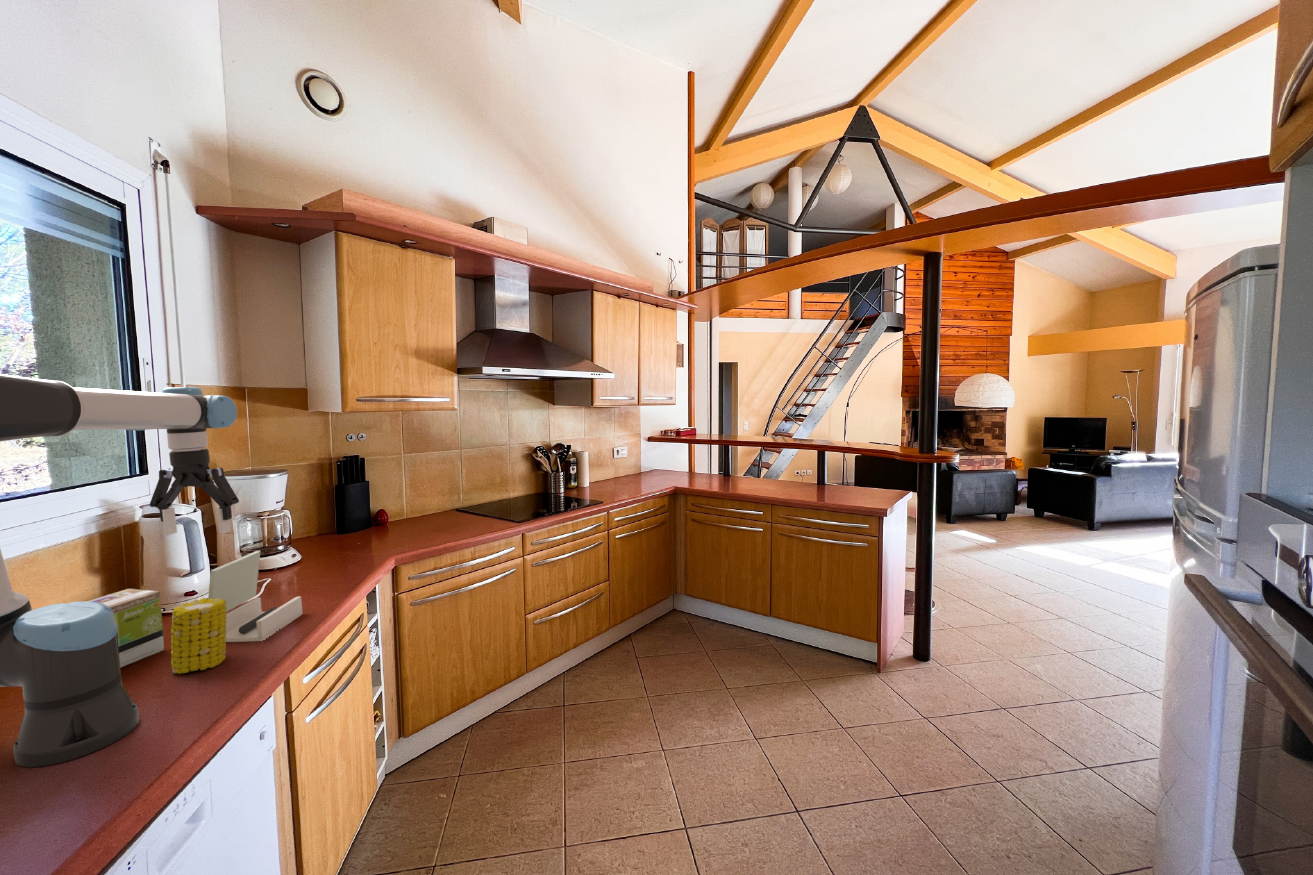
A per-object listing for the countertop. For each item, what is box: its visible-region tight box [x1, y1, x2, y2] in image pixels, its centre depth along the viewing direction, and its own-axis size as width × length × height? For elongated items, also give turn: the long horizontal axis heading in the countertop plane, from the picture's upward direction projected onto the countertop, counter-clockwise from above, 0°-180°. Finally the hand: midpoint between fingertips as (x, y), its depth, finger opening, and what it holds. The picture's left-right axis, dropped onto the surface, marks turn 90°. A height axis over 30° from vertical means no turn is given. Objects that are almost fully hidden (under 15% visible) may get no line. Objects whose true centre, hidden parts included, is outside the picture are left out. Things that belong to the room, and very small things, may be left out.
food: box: [170, 597, 227, 675], centre depth 122 cm, size 15×12×10 cm
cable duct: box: [225, 596, 303, 643], centre depth 141 cm, size 16×12×5 cm
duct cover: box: [207, 550, 261, 613], centre depth 140 cm, size 16×12×1 cm
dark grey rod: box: [239, 606, 279, 634], centre depth 142 cm, size 13×2×2 cm, turn 2°
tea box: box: [87, 588, 165, 669], centre depth 123 cm, size 15×10×15 cm
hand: (198, 533), depth 138 cm, fingers open, 12 cm apart
